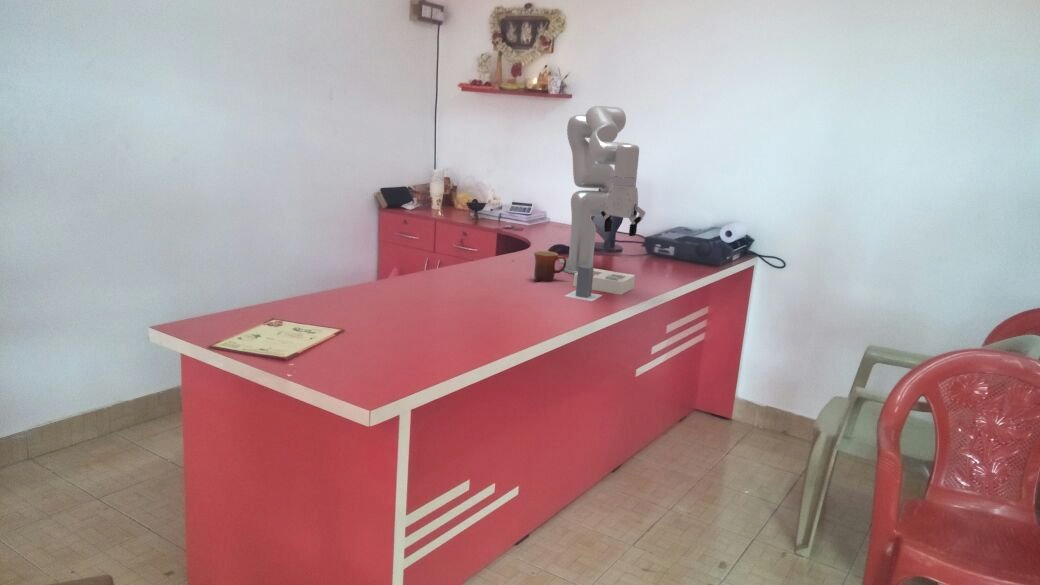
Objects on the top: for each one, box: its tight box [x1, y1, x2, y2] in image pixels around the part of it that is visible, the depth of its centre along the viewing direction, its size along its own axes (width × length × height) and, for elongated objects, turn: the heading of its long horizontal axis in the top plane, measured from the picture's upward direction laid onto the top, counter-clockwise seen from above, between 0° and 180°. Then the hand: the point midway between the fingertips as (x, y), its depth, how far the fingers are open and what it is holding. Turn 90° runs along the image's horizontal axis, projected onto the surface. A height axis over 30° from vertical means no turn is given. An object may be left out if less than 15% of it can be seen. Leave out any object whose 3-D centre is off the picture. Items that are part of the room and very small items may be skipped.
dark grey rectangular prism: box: [575, 265, 595, 298], centre depth 238 cm, size 4×4×10 cm
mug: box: [533, 250, 567, 283], centre depth 258 cm, size 12×9×10 cm
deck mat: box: [564, 289, 603, 302], centre depth 239 cm, size 10×10×1 cm
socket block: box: [572, 267, 636, 296], centre depth 253 cm, size 18×14×6 cm
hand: (619, 233), depth 239 cm, fingers open, 9 cm apart
